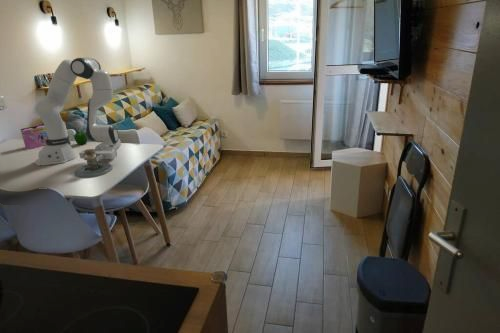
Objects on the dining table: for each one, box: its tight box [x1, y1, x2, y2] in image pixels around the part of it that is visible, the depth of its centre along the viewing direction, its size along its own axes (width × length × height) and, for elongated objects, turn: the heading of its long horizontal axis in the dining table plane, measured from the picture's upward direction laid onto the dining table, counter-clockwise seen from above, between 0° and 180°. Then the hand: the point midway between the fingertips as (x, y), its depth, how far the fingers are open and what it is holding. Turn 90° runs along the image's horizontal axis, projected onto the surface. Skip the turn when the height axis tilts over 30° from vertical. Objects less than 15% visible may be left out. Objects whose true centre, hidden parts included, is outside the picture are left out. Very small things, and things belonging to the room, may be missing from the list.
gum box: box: [20, 124, 48, 150], centre depth 249 cm, size 24×8×14 cm, turn 136°
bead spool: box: [84, 148, 98, 169], centre depth 197 cm, size 6×6×10 cm
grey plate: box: [74, 162, 113, 179], centre depth 200 cm, size 20×20×2 cm
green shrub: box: [73, 129, 88, 146], centre depth 248 cm, size 8×8×10 cm
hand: (90, 158), depth 196 cm, fingers closed on bead spool, 5 cm apart
